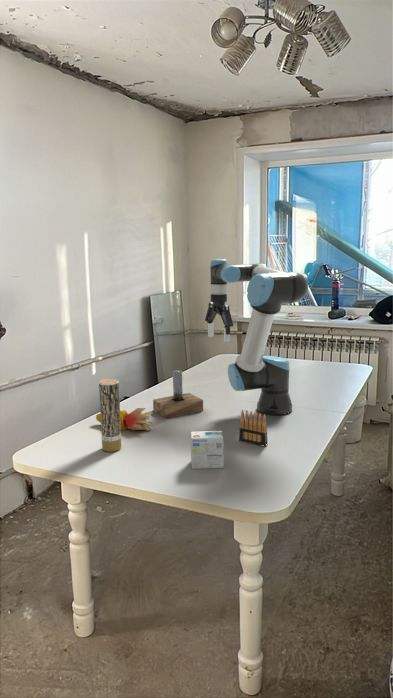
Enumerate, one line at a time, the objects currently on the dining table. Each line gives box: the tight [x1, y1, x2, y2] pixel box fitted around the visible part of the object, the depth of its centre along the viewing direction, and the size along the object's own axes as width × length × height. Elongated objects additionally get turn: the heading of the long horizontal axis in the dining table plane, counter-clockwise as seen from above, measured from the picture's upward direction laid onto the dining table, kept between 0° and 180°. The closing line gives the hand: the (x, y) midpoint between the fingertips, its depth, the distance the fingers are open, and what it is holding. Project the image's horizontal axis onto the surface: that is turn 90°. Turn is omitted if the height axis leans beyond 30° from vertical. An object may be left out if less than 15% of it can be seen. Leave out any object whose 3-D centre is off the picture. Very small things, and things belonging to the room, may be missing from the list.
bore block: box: [152, 392, 204, 419], centre depth 227 cm, size 12×18×5 cm, turn 121°
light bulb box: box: [190, 430, 225, 470], centre depth 173 cm, size 11×7×11 cm, turn 92°
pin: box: [172, 369, 184, 402], centre depth 226 cm, size 4×4×16 cm
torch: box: [95, 407, 156, 431], centre depth 207 cm, size 8×8×25 cm
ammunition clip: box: [238, 409, 268, 447], centre depth 191 cm, size 11×2×12 cm, turn 58°
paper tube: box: [98, 378, 122, 453], centre depth 185 cm, size 7×7×25 cm
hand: (218, 339), depth 245 cm, fingers open, 13 cm apart
